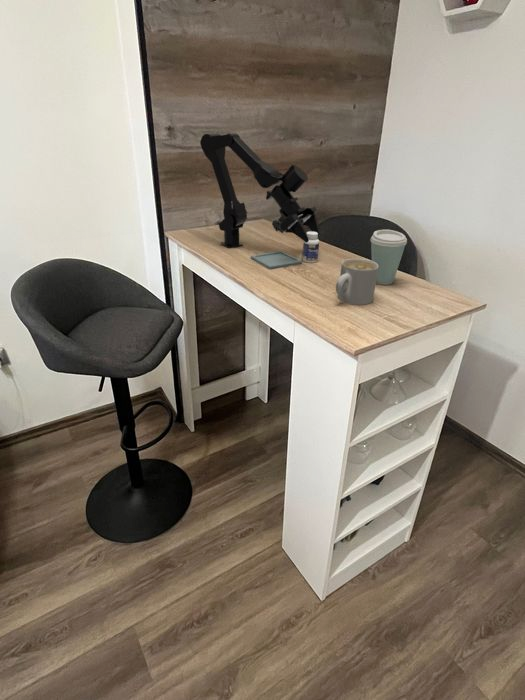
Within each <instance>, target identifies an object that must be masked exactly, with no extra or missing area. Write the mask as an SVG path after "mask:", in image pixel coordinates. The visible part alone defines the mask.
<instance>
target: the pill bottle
mask: <svg viewBox="0 0 525 700" xmlns="http://www.w3.org/2000/svg"><path fill="white" fill-rule="evenodd" d="M306 234H307V236H308V239H309V241H308V242H307V243H306V242H305V241H303V243H302V244H303V245H302V247H303V248H302V256H301V257H302V258H301V259H302V260H301V261H302V262H303V261H304V262H305V263H308V264H310V263H313V264H314V263H317V262H318V261H319V260H318V259H319V250H320V240H319V238H318V237H319V236H318V233H317V232H312V230H310V231H306Z"/></svg>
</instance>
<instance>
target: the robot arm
mask: <svg viewBox="0 0 525 700" xmlns="http://www.w3.org/2000/svg"><path fill="white" fill-rule="evenodd" d="M199 143H200V145H199V146H200V148H201V150H202V152H203V154H204V156H205V157H206V158H207V160H208V161H209V162H210V163H211V165H212V166H211V167H212V169H213V172H214V176H215V178H216V181H217V184H218V189H219V191H220V195H221V198H222V200H223V209H222V210H223V211H222V212H223V217H224V219H222V220H221V222H220V223H219V224H218V227H219V230H220V231H223V241H221V242H220V245H222V246H224V247H226V248H227V249H228V248H230V249H231V248H236V247H243V246H244V245H243V243H241V242H240V228H243V227H244V224H245V223H246V221H247V219H248V215H247V214H248V211H247V209H246V205H245V202H240V201H239V200H238V198H237V195H236V192H235V189H234V185H233V182H232V178H231V175H230V172H229V169H228V165H227V163H226V159H225V156H226V151H227V149H226V147H228V148H230V150H231V151H232V152H233V153H234V154H235V155H236V156H237V157H238V158H239V159H240V160H241V161H242V162H243V163H244V164H245V165H246V166H247V167H248V169H250V171H251V172H252V175H253V176H254V179H255V180H256V182H257V183H258V185H259V187H261V188H262V189H268V188H272V189H271V190H267V191H266V198H265V199H266V200H267V201H269V200H271V199H273V200H274V201H275V203H276V204H277V205H278V207H279V208H280V209H279V211H278V212H279V213H280V217H278V219H274V220H273V221H272V222H271V225H272V227H273V228H274V229H273V230H275V232H280V233H281V234H284V232H285V234H287V233H290V234H291V233H292V234H294V235H295V236H296V237H298V238H299V239H300V240H302V241H303V242H304V241H305V242H306V243H307V242H308V241H309V239H308V236H307V234H306V233H307V231H306V228H305V227H304V226H307V227H308V228H309V229H310V231H312V232H317V233H318V237H319V236H320V234H321V232H320V229H319V228H320V227H319V224H318V213H317V212H318V209H317V208H316V207H315V206H314V205H313V206H312V205H310V206H309V207H306V208H305V207H304V206H303V207H302V206H301V205H300V204H299V202H298V200H299V199H298V197H295V196H294V195H293V194H292V193H296V192H297V191H298V190H300V188H301V187H302V186H303V185H305V183H307V181H308V180H309V178H308V175H307V173H306V172H305V171H304V170H303V169H302V168H300V167H299V166H297V165H296V164H291V166H290V167H289V168H288V169H287V171H286V172H284V173H282V172H280V171H279V170H278V169H277V168H276V167H274V166H273V165H271V164H270V163H267V162H265V161H263V160H262V159H261V158H260V157H259V156H258V155H257V154H256V153H255V151H253V149H251V148H250V147H249V145H248V144H247V143H246V142H244V140H243V139H242V138H241V137H240V135H239V134H238V133H237V132H231V133H230V132H229V133H226V134H220V133H217V132H216V133H213V132H212V133H205V134H203V135H202V136H201V138H200V141H199ZM279 183H280V184H279Z"/></svg>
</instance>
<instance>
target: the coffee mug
mask: <svg viewBox="0 0 525 700" xmlns="http://www.w3.org/2000/svg"><path fill="white" fill-rule="evenodd" d="M378 267H379V266H378V264H377V263H375V262H373V261H372V260H369V259H366V258H346V259H344V260H342V261H341V267H340V274H339V277H338V278H337V280H336V283H335V292H336V294H337V298H338V300H339V301H341V302H343V303H345V304H348V305H352V306H353V305H355V306H365V305H369V304H371V303H373V301H374V296H375V290H376V285H377V283H376V279H377V273H378Z"/></svg>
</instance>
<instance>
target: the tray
mask: <svg viewBox="0 0 525 700" xmlns="http://www.w3.org/2000/svg"><path fill="white" fill-rule="evenodd" d="M250 259H251V260H252V261H254V262H255V263H258V264H260V265H262V266H263V267H265V268H267V269H268V270H275V269H282V268H286V267H292V266H297V264H298V265H302V264H303V260H301V259H299V258H297V257H295V256H293V255H291V254H289V253H287V252H285V251H284V250H279V251H272V252H265V253H259V254H254V255H250ZM291 265H292V266H291Z"/></svg>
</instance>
